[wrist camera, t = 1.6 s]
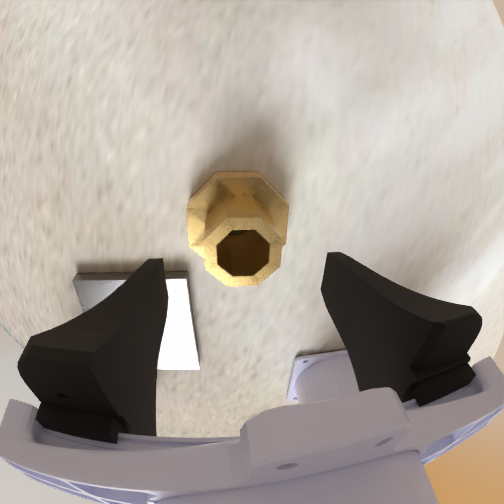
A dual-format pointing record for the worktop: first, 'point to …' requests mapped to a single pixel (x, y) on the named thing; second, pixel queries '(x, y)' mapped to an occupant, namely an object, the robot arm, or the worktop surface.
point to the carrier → (177, 323)
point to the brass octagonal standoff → (238, 227)
